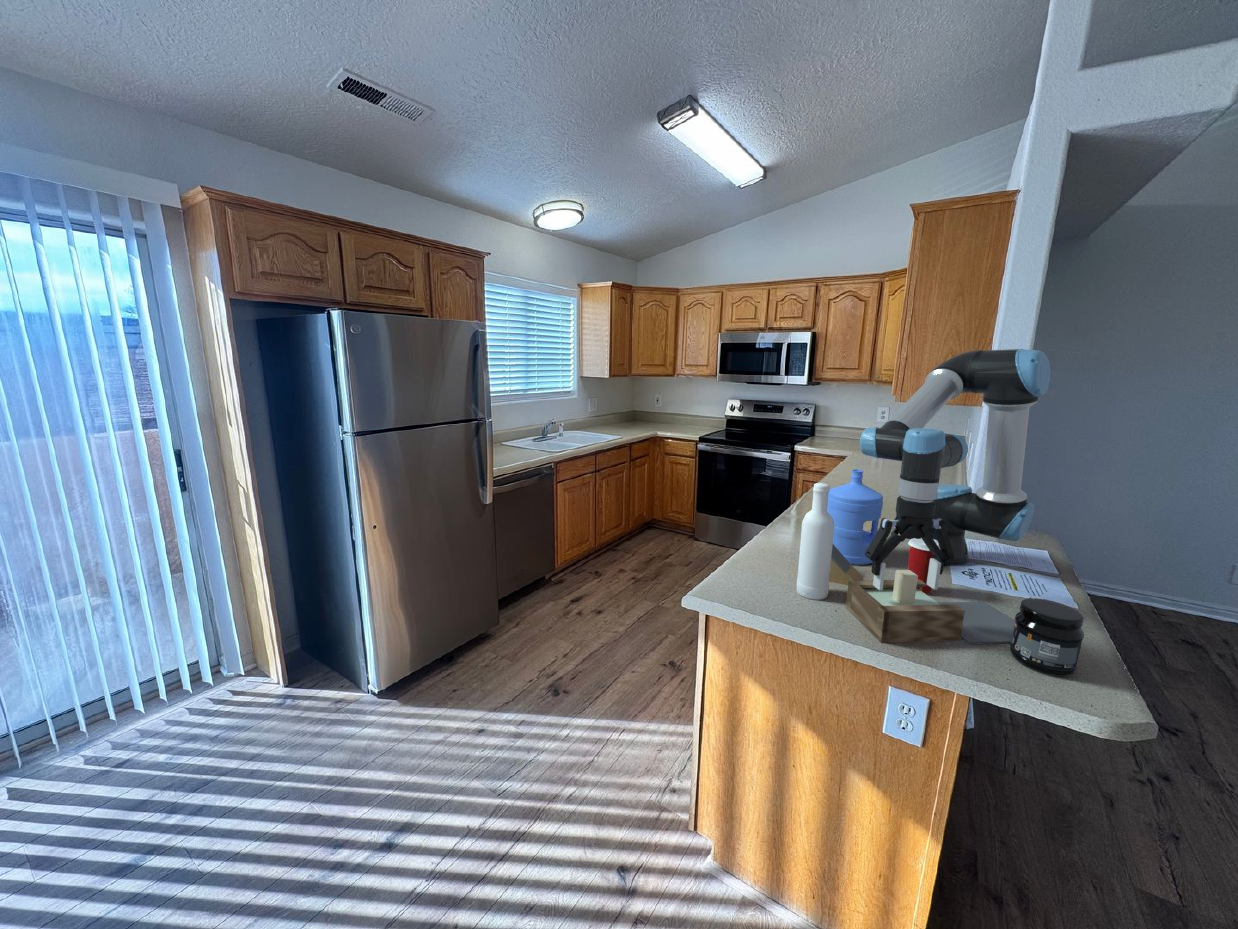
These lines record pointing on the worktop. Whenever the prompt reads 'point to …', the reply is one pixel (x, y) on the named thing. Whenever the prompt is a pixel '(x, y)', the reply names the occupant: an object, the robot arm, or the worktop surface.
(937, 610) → the walnut box
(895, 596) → the cover plate
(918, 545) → the paper cup
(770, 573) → the worktop surface
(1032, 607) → the supplement container
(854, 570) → the sandwich container
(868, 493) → the water jug
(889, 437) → the robot arm
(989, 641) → the charcoal mat
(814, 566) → the bottle
